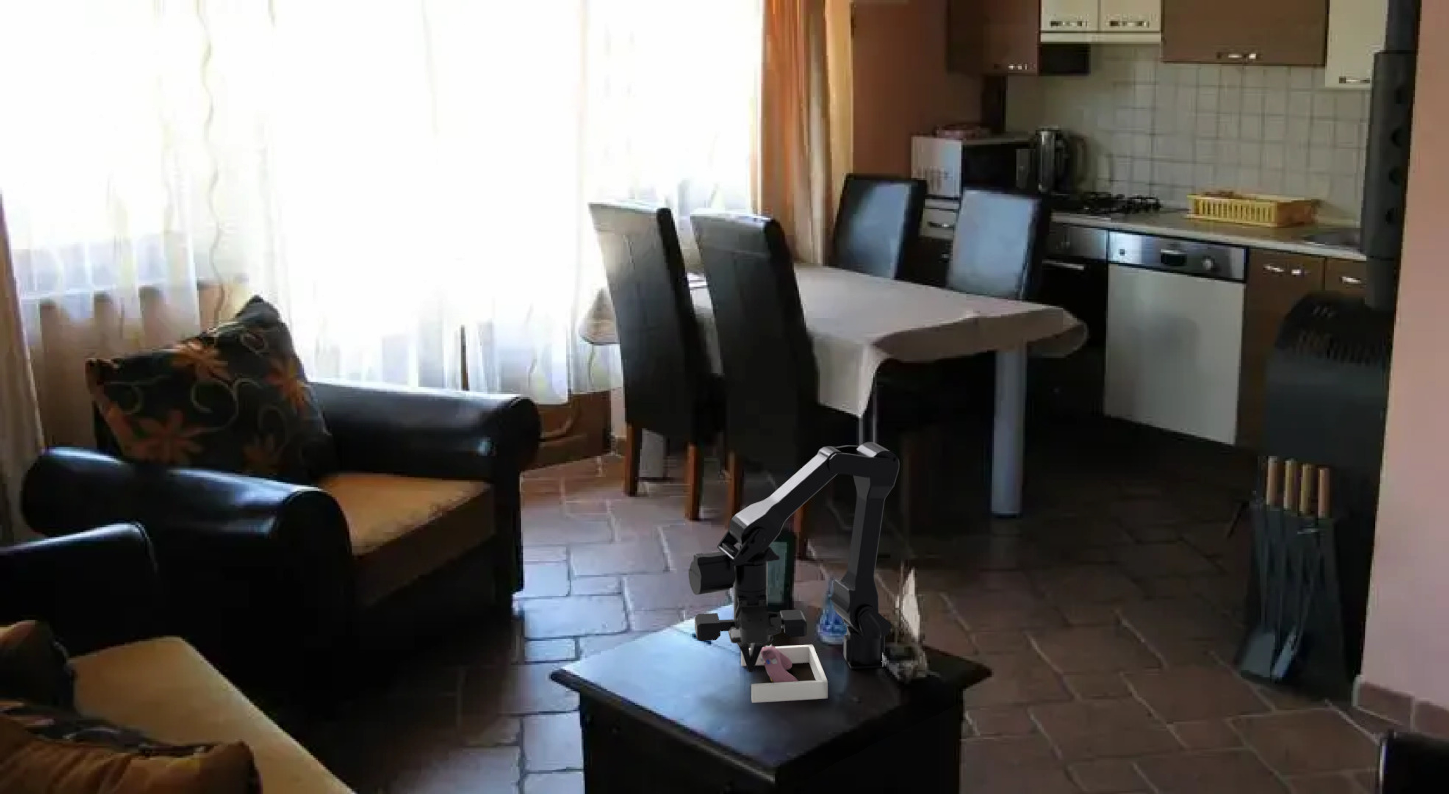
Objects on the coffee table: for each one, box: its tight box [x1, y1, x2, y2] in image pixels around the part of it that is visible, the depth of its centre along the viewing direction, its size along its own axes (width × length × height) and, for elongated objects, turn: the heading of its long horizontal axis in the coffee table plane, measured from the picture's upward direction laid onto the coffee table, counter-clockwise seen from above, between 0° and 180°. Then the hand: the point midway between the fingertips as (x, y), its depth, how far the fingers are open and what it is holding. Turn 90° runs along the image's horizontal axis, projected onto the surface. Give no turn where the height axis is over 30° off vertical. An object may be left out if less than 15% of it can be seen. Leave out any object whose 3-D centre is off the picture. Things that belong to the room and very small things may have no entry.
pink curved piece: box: [760, 643, 799, 683], centre depth 259 cm, size 10×5×7 cm, turn 6°
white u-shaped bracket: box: [740, 644, 829, 704], centre depth 259 cm, size 13×16×3 cm
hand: (750, 671), depth 258 cm, fingers closed
